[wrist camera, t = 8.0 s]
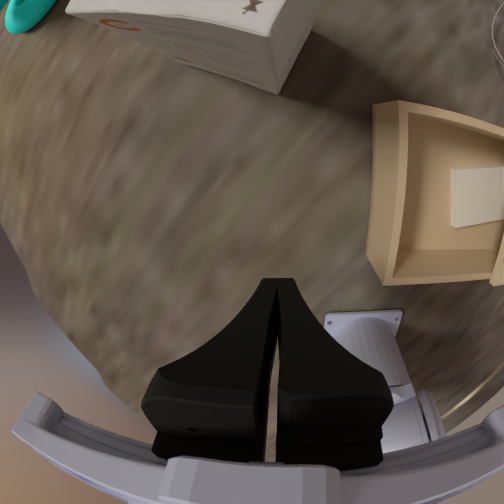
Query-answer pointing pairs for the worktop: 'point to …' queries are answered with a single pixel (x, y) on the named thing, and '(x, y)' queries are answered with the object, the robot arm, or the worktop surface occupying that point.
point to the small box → (214, 32)
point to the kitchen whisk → (493, 38)
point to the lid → (498, 267)
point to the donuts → (24, 13)
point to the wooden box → (427, 195)
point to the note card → (477, 195)
